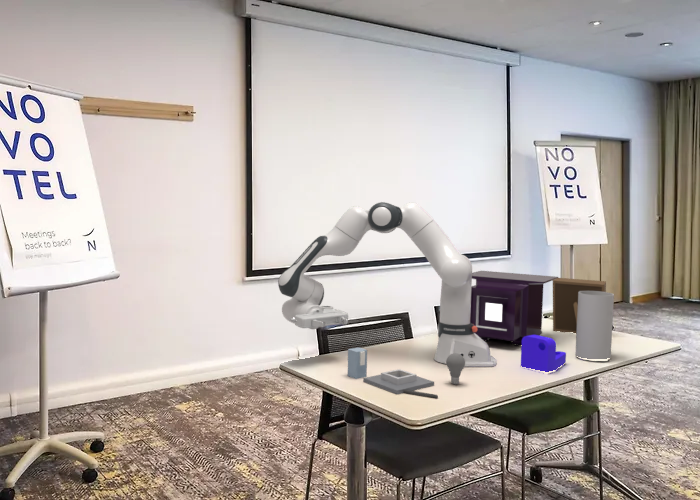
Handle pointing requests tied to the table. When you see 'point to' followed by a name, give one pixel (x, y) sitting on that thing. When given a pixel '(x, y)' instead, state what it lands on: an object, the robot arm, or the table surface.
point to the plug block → (357, 363)
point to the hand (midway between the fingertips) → (335, 323)
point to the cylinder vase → (594, 324)
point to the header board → (398, 381)
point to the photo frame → (570, 301)
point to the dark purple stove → (507, 305)
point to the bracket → (541, 353)
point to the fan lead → (420, 393)
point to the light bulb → (455, 366)
